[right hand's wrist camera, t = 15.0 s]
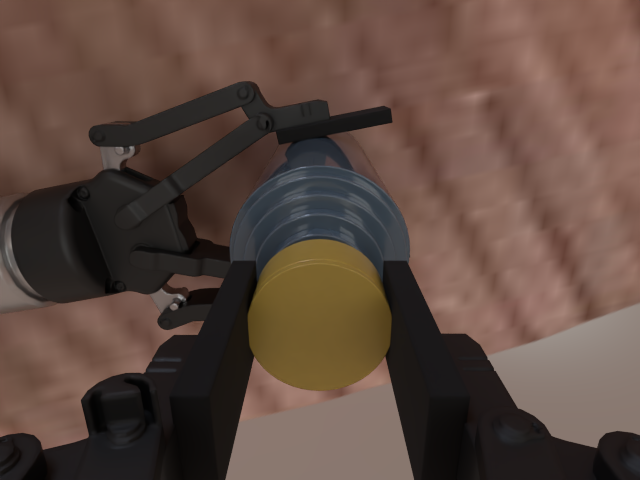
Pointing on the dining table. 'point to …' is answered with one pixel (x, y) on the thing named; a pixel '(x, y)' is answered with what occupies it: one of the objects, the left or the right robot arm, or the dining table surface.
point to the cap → (319, 316)
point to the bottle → (320, 204)
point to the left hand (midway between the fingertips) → (396, 182)
